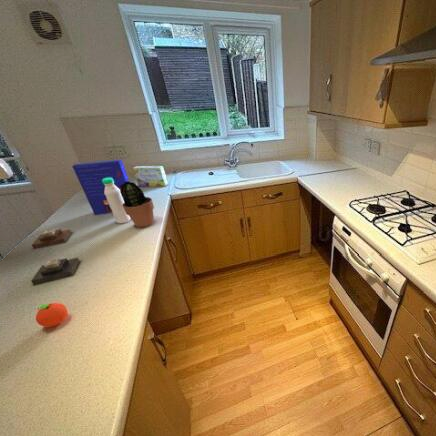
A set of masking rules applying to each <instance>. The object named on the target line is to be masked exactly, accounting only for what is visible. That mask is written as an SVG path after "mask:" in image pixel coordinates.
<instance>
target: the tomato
mask: <svg viewBox="0 0 436 436" xmlns="http://www.w3.org/2000/svg"><path fill="white" fill-rule="evenodd" d="M67 315H68V308H67V307H66V305H65V304H63V303H61V302H51V303H47V304H42V305H40V306H39V307H38V308H37V313H36V314H35V321H36V323H37V324H38V326H41V327H44V328H50V327H55V326H57V325H59V324H61V323H62V322H63V321H64V320H65V319H66V317H67Z"/></svg>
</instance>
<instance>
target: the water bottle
mask: <svg viewBox="0 0 436 436" xmlns="http://www.w3.org/2000/svg"><path fill="white" fill-rule="evenodd" d="M102 182H103V184H104V185H105V190H104V194H105V195H106V198H107V201H108V203H109V205H110V208H111V210H112V212H111V213H112V215H113V217H114V220H115V222H116V223H117V224H125V223H127V222H130V220H132V219H131V218H130V216H129V215H127V214H126V212H125V210H124V208H123V203H124V200H123V197H122V195H121V193H120V189H119V188H118V187H117V186H116V185H114V180H113V178H104V179H102Z"/></svg>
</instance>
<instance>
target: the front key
mask: <svg viewBox="0 0 436 436" xmlns="http://www.w3.org/2000/svg"><path fill="white" fill-rule="evenodd" d="M60 263H61V258H54V259H52V260H47V262H45V264H46V265H45V264H44V265H45V268H46V269H49V268H54V267H58V266H59V265H60Z"/></svg>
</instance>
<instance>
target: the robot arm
mask: <svg viewBox="0 0 436 436" xmlns="http://www.w3.org/2000/svg"><path fill="white" fill-rule="evenodd" d="M13 175H14V172H13V170H12V168H11V167H10V166H9V164H8V162H6V161H5V160H4V159H2V158H0V180H5V179H10V178H12V177H13Z"/></svg>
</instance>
